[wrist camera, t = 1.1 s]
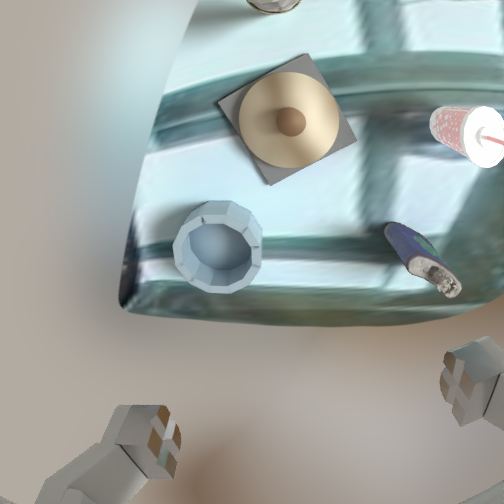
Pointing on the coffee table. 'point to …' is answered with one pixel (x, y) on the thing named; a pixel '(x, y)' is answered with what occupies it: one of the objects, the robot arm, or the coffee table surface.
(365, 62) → the coffee table surface
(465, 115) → the beverage cup
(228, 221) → the bowl
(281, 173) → the mat
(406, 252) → the flask
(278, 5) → the ice cream cone
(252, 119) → the lid
